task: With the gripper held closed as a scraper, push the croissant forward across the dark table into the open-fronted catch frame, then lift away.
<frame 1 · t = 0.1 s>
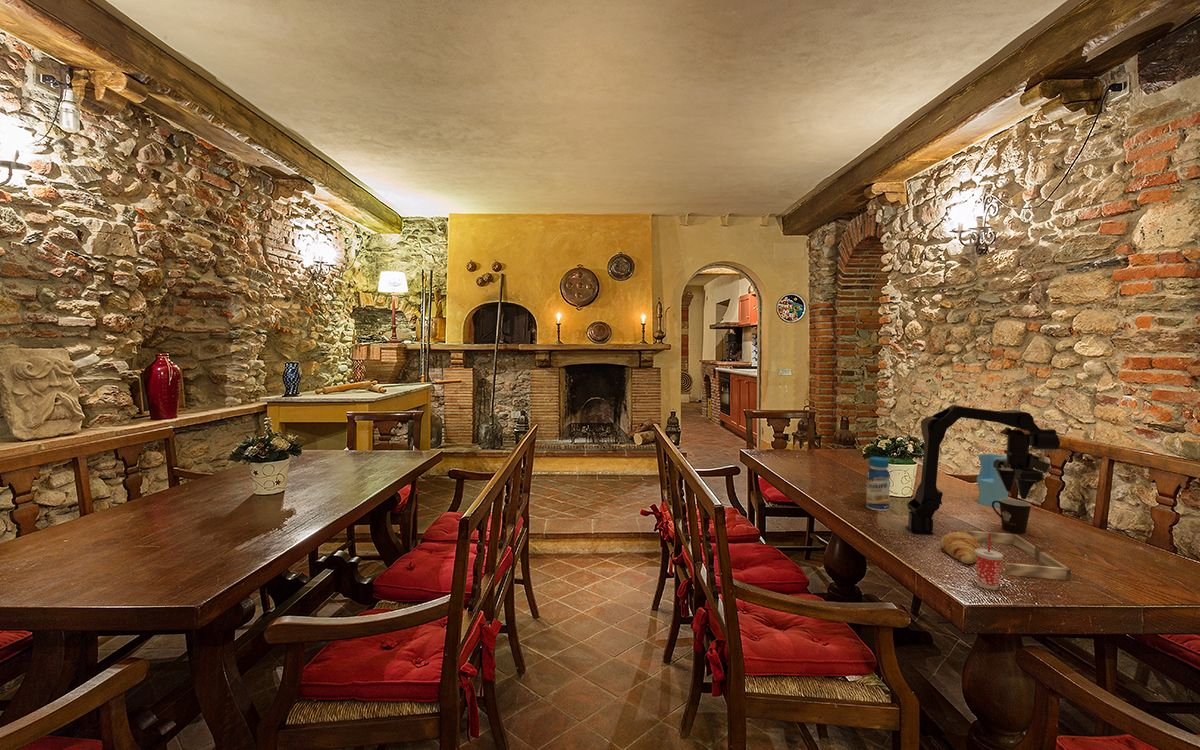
hand: (1015, 495, 174), 15 cm above the table, fingers open, 9 cm apart
beverage cup: (987, 586, 140), on the table
beverage bottle: (877, 508, 207), on the table
catch frame: (1011, 557, 158), on the table
coffee mug: (1011, 529, 183), on the table
vase: (992, 504, 212), on the table
croissant: (959, 554, 161), on the table
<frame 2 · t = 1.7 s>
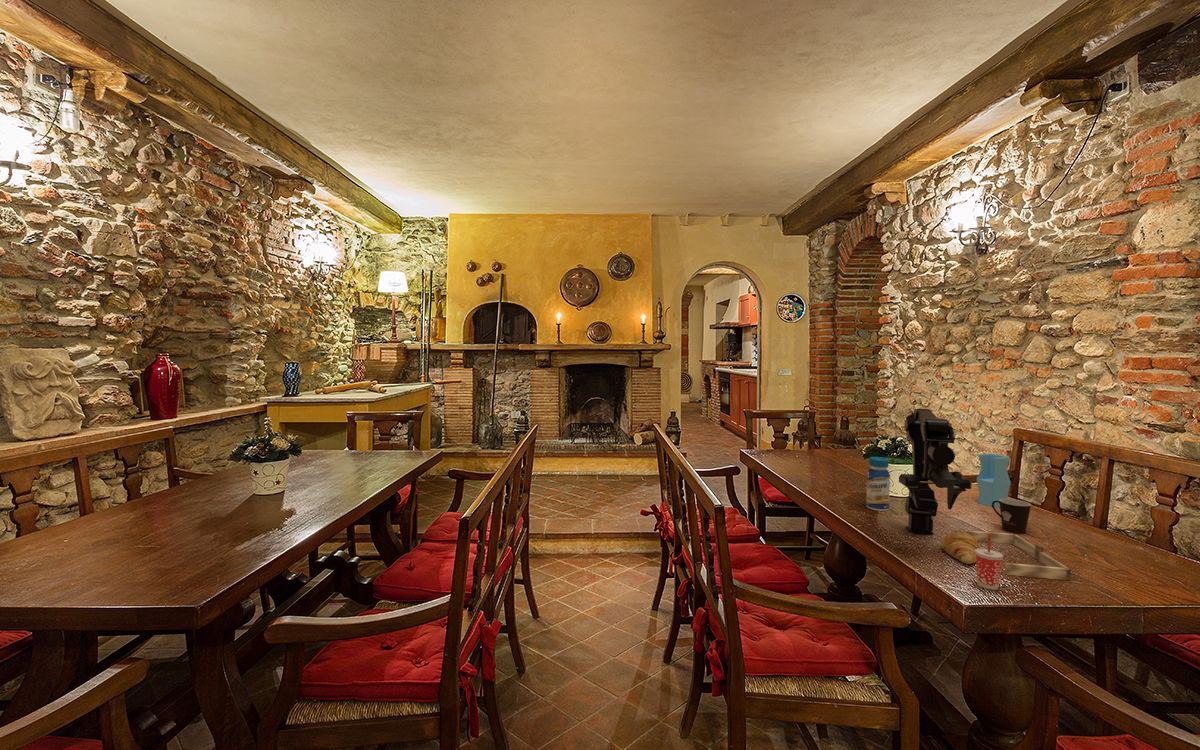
hand: (933, 508, 163), 13 cm above the table, fingers open, 9 cm apart
nothing on the table moved.
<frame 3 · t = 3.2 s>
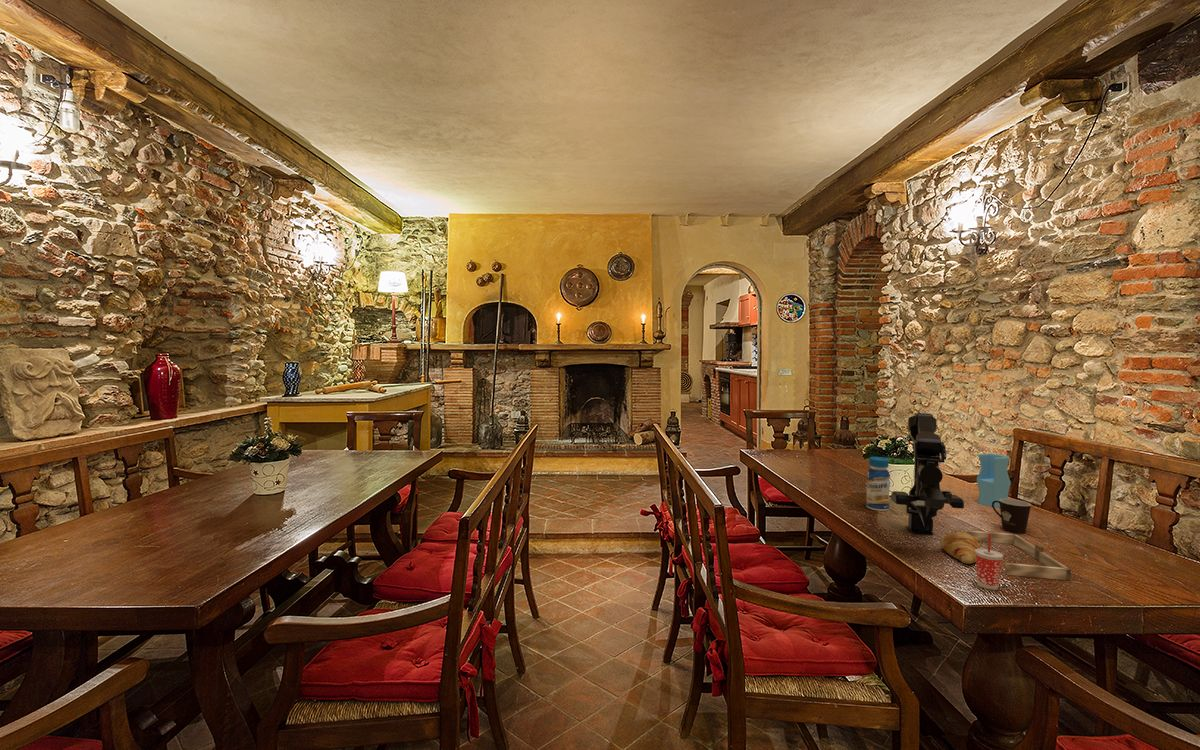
hand: (925, 526, 163), 8 cm above the table, fingers closed
nothing on the table moved.
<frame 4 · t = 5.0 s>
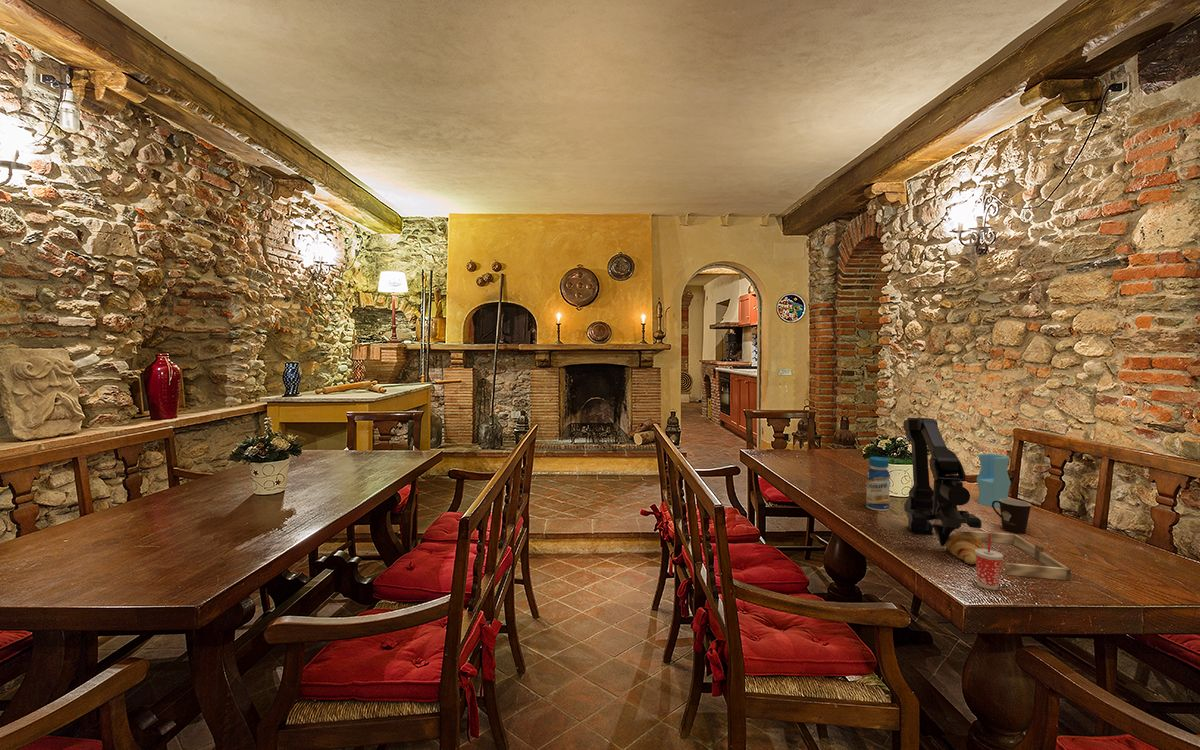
hand: (942, 545, 162), 2 cm above the table, fingers closed
croissant: (963, 555, 161), on the table, touching gripper
everything else where it was.
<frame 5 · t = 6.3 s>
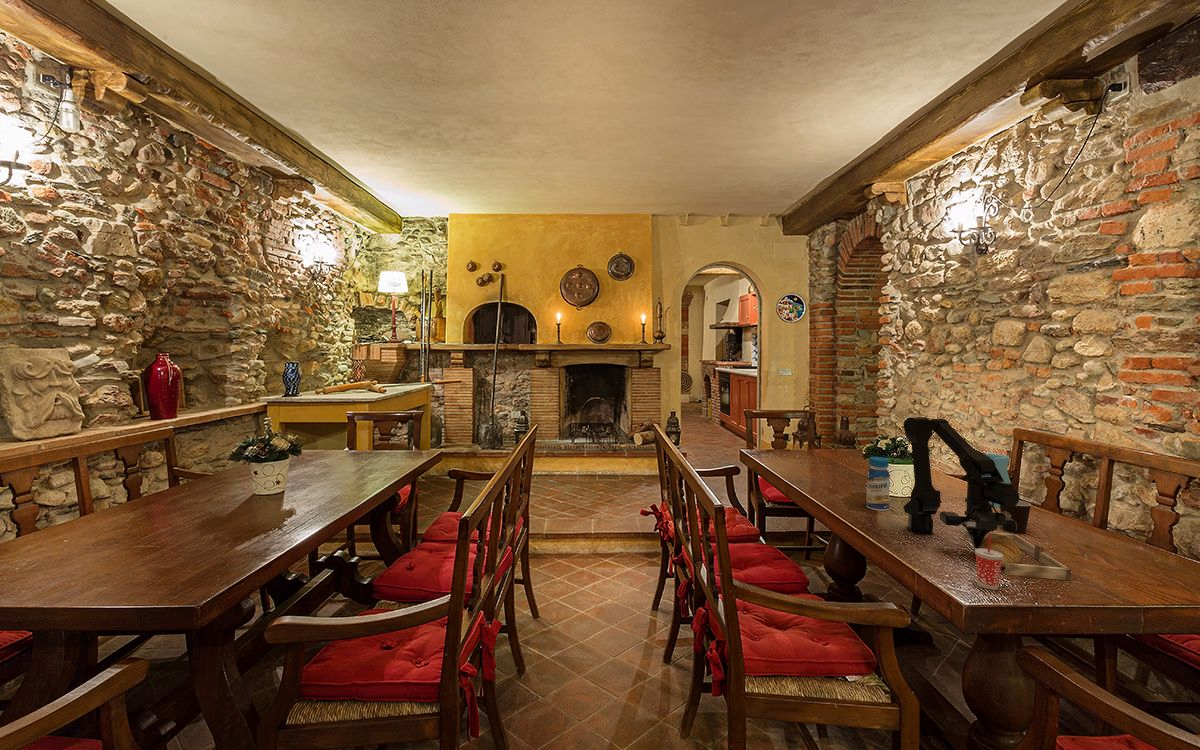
hand: (976, 548, 160), 2 cm above the table, fingers closed
croissant: (998, 559, 158), on the table, touching gripper
everything else where it was.
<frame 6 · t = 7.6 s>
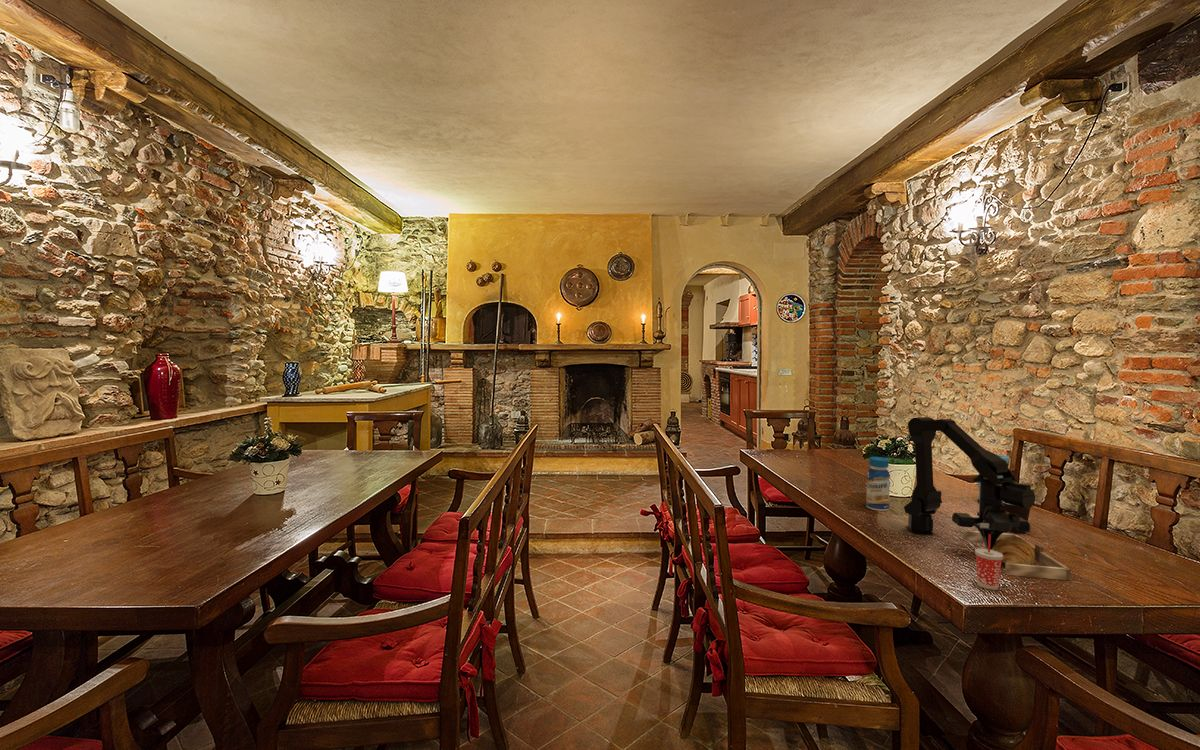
hand: (989, 549, 159), 2 cm above the table, fingers closed
croissant: (1012, 560, 157), on the table
everything else where it was.
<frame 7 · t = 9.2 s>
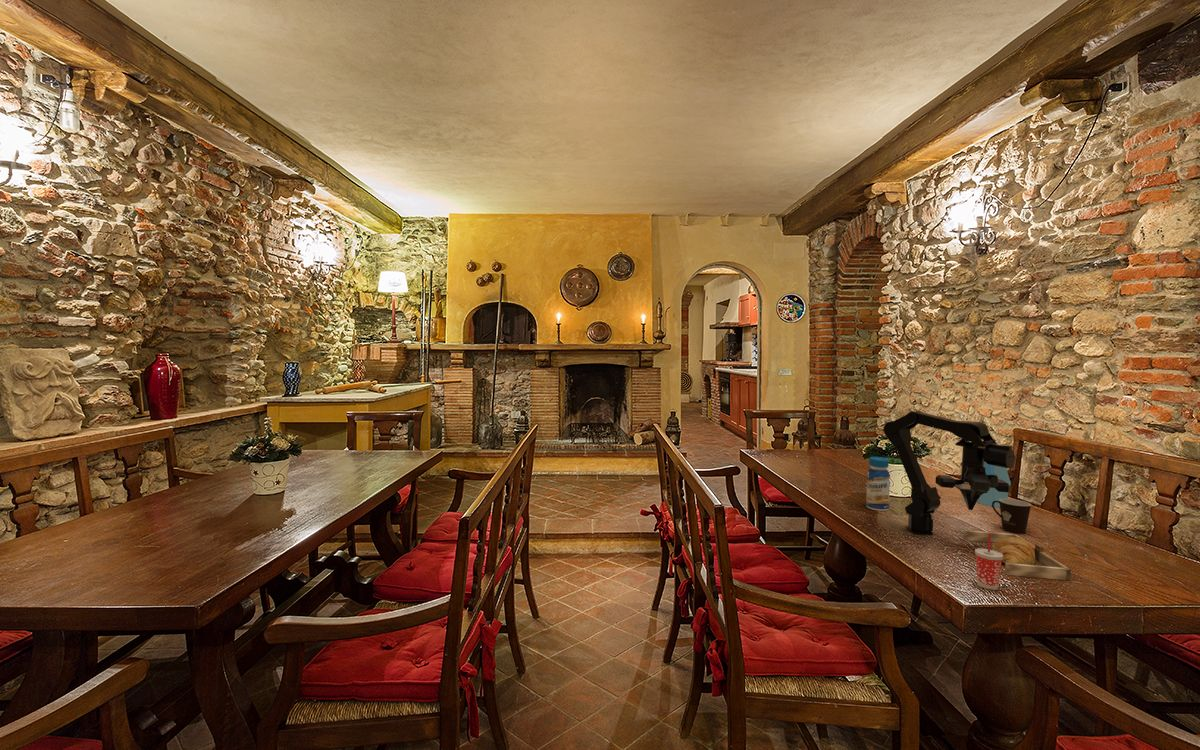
hand: (970, 509, 167), 12 cm above the table, fingers closed
nothing on the table moved.
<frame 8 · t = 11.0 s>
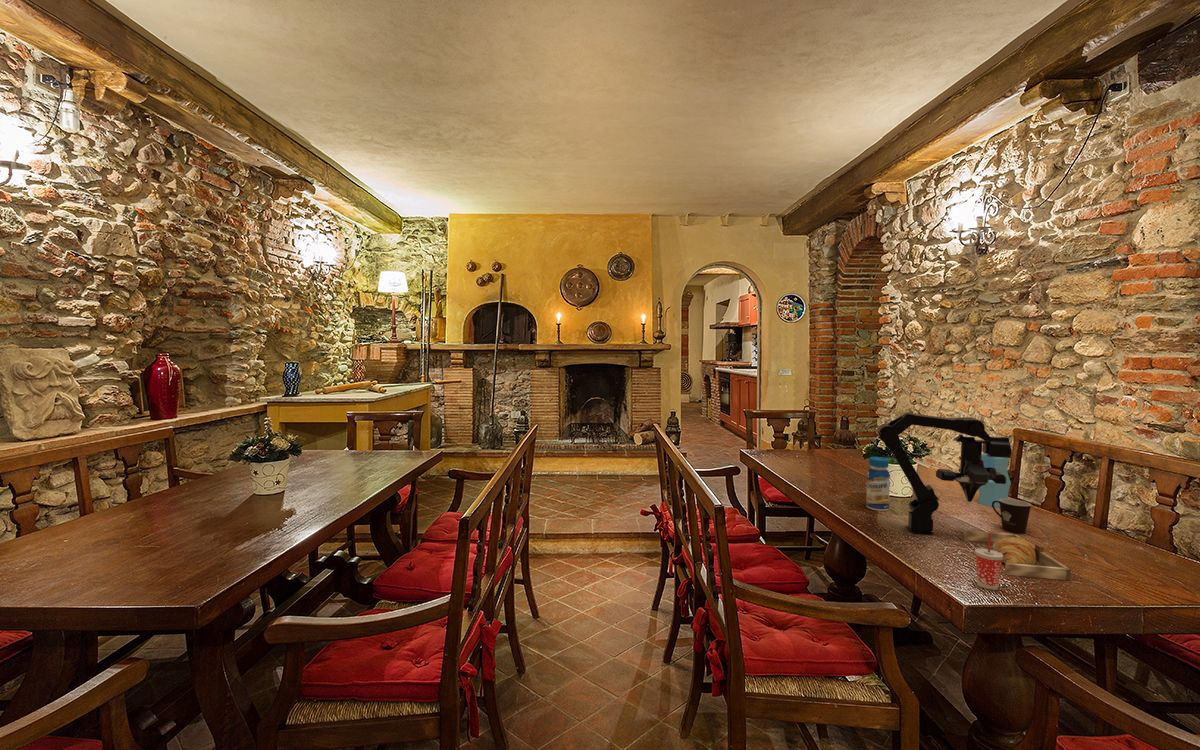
hand: (969, 501, 175), 12 cm above the table, fingers closed
nothing on the table moved.
at the end: croissant inside the target area on the catch frame (1.8 cm from its centre), point 0.0 cm above the catch frame's base; croissant moved 13.9 cm from its start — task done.
